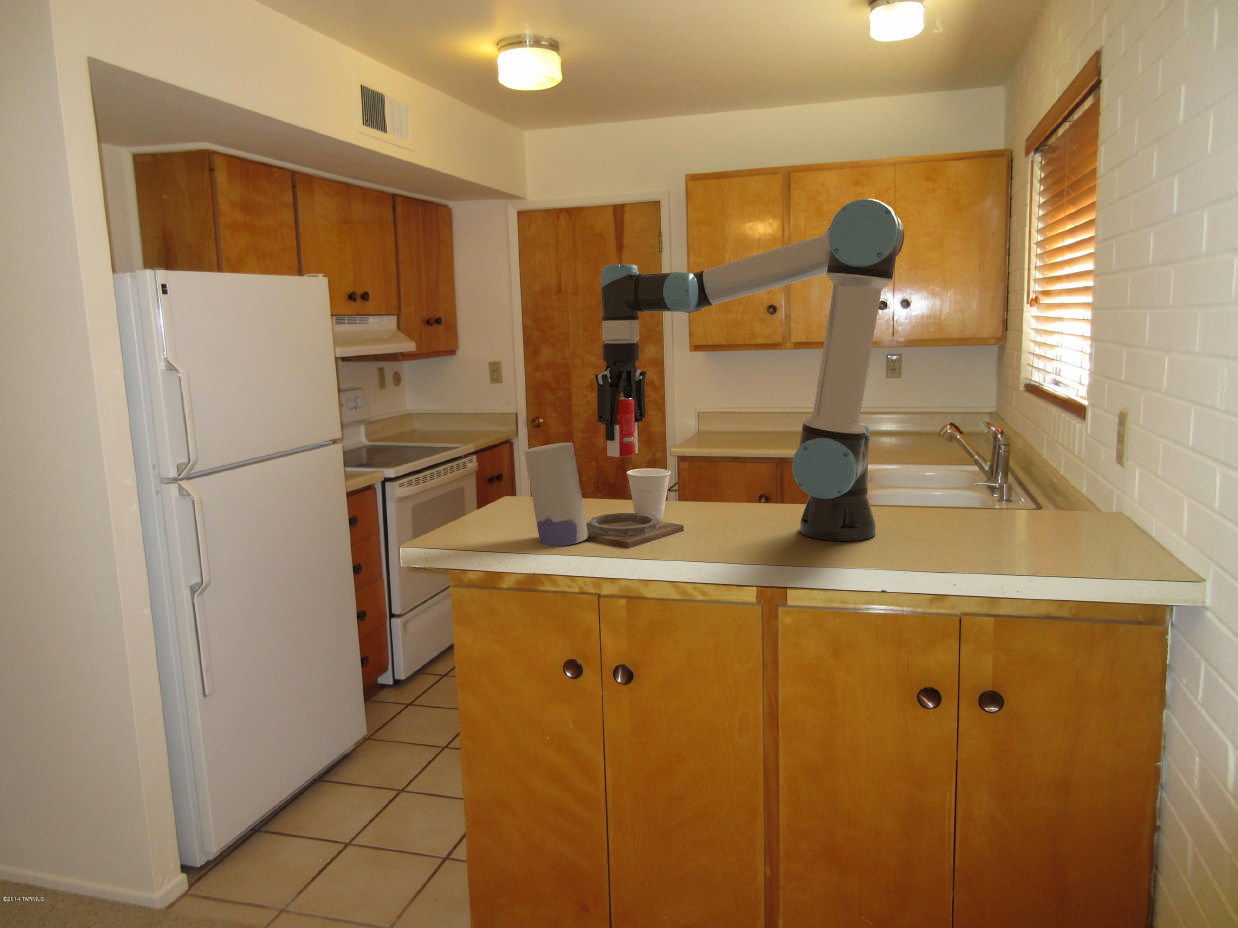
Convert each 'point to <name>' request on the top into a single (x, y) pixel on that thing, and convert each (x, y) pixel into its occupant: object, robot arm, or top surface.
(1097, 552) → the top surface
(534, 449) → the container
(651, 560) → the top surface
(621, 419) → the beverage can
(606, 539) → the collar board
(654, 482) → the cup
